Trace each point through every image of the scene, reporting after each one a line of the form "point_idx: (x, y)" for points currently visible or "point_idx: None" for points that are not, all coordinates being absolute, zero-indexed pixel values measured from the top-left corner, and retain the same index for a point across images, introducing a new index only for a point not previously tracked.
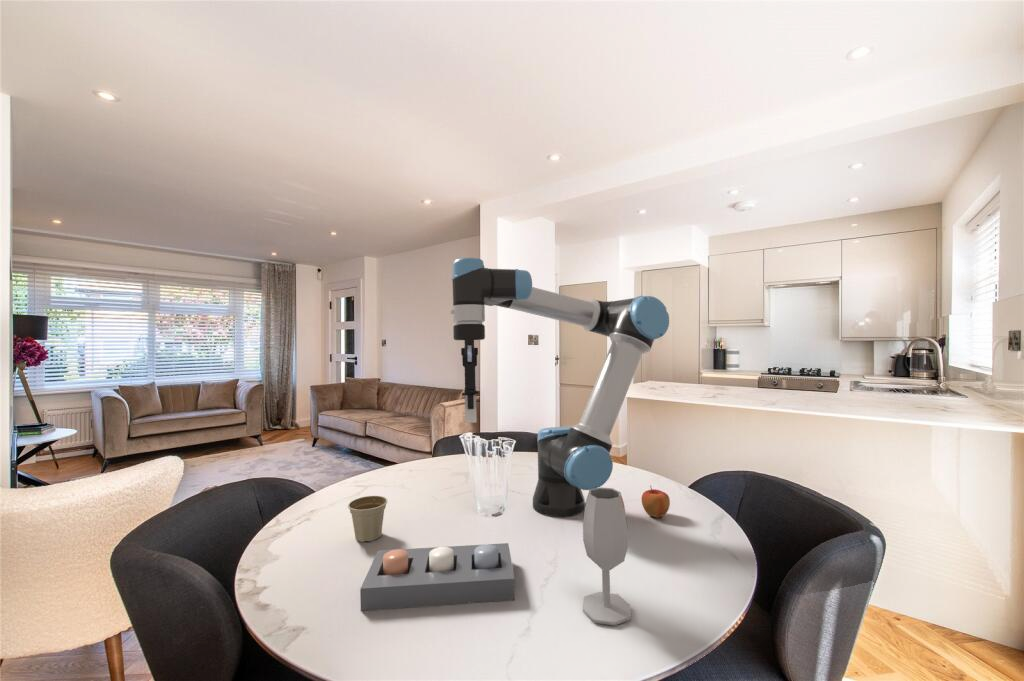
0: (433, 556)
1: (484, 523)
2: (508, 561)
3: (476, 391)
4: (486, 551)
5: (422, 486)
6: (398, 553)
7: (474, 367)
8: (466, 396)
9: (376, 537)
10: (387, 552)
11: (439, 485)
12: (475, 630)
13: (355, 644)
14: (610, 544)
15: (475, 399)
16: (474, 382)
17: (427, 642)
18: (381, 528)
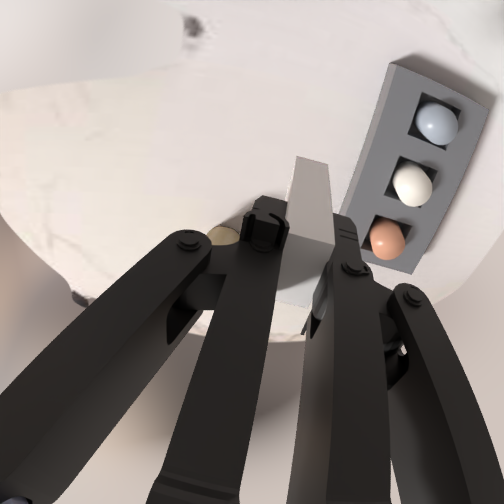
0: (419, 202)
1: (228, 56)
2: (450, 93)
3: (275, 239)
4: (445, 128)
5: (48, 156)
6: (385, 242)
7: (501, 489)
8: (310, 294)
9: (237, 234)
10: (375, 254)
11: (45, 127)
12: (495, 166)
13: (449, 264)
14: None
15: (330, 230)
16: (455, 367)
17: (484, 211)
18: (226, 232)
